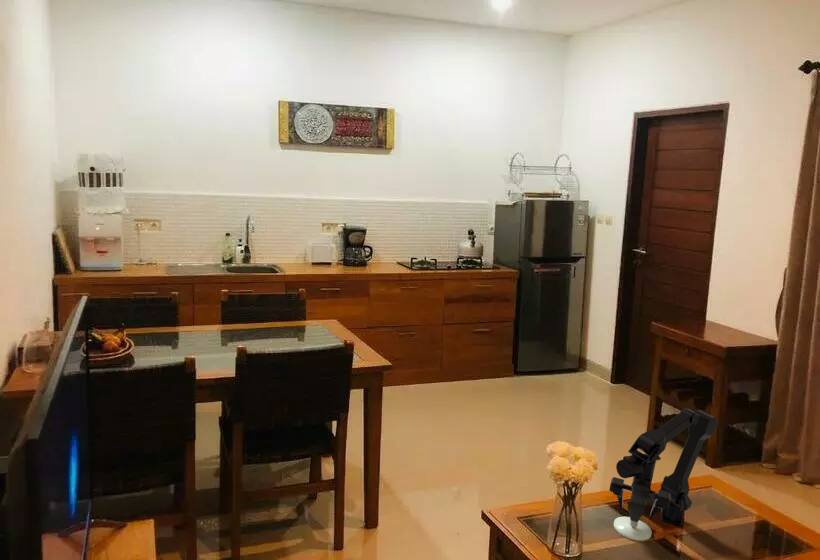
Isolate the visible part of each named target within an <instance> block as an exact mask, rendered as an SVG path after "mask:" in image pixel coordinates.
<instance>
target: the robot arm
mask: <svg viewBox="0 0 820 560" xmlns="http://www.w3.org/2000/svg"><path fill="white" fill-rule="evenodd" d="M717 429H718V421H717V418H716V416H715V417H714V416H713V415H711V414H708V413H706V412H705V411H702V410H701V409H697V410H692V409H691V408H690V409H689V408H682V409H681V411H680V412H679V413H678V414H677V415H675V416H674V417H672V418H671V419H670V420H669V421H667V422H665V423H664V424H663V425H661V426H660V427H659V428H657V429H651V430H647V431H644V433H641V434H640V435H639V436H638V437H637V438H636V440H635V441H634V442H633V444H632V445H631V447H630V448H629V450H628V453H629V454H630V455H625V456H623V458H622V459H620V460H618V462H617V463H616V465H615V468H616V469H615V470H616V472H617V474H618V476H619V477H620V478H619V477H616V476H614V477H612V478H611V481H610V485H609V489H608V490H609V491H610V492H611V493H613V495H615V496H616V497H617V501H618V506H619V510H620V512H622V511H623V505H624V491H626V492H630V493H631V496H630V500H631V501H632V502H637V503H640V504H642V505H645V506H646V505H647V503H653V504H652V507H651V511H650V514H649V518H648V519H649V521H651V520H652V519H653V517H654V515H655V514H656V513H657V512H658V511H659V510H660V509H661V510H660V516H661V520H662V522H663V521H664V522H667V523H670V524H674V525H677V526H683V518H684V514H685V511H688V510H689V509H690V508H691V506H692V504H693V502H692V500H691V499H690V497H689V496H688V495H689V493H690V485H689V484H690V483H689V478H690V475H691V474H692V471H693V468H694V466H695V464H696V461H697V458H698V456H699V453H700V452H701V450H702V447H703V445H704V442H705V441H706V440H707V439H710V438H711V437H712V436H713V435H714V433H715V431H716V430H717ZM685 430H688V436H687V439H686V441H685V444H684V446H683V448H682V451H681V454H680V455H679V458H678V460H677V462H676V465H675V468H674V470H673V472H672V473H671V474H670V475H665V476H664V477H663V480H662V483H661V484H660V485H659V486H660V489H658V490H657V492H656V491H654V490H652V484H653V483H652V482H653V479H654V478H653V477H654V472H655V467H656V464H657V461H660V460H661V459H662V458H661V457H660V455H661V454H662V453H663V452H664V451H665V450H666V447H667V444H668V443H669V442H670V441H672V440H673V439H674V438H675V437H677V436H678V435H680V434H681V433H682V432H684V431H685ZM632 477H633V478H632ZM629 478H632V481H631V482H632V483H631V485H630V484H626V483H625V479H629Z"/></svg>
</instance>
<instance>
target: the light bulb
mask: <svg viewBox="0 0 820 560" xmlns="http://www.w3.org/2000/svg"><path fill="white" fill-rule="evenodd" d="M646 508H647V507H646V505H642V504H640V503H637V502H632V501H631V499H630V500H629V501H628V503H627V511H628V514H629V517H630V526H632V528H635V527H637V525H638V521H639V520H640V519H641V518H642V517H643V516H644V514H645V513H646Z"/></svg>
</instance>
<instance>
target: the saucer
mask: <svg viewBox="0 0 820 560" xmlns="http://www.w3.org/2000/svg"><path fill="white" fill-rule="evenodd" d="M613 529H614V530H615V531H616V532H617V533H618V534H619V535H620V536H623V537H624V538H626V539H629V540H632V541H636V542H645V541H649V540H650V539H651V537H652V533H653V532H652V529H651V528H650V526H649V525H648V524H647V523H645V522H643V521H642V520H640V519H639V521H638V525H637V527H635V528H632V526H630V516H619V517H617V518H615V519H614V521H613Z"/></svg>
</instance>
